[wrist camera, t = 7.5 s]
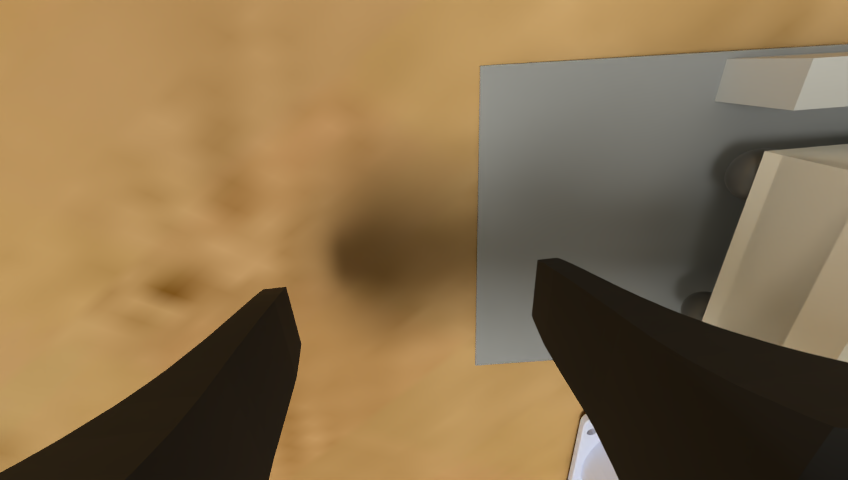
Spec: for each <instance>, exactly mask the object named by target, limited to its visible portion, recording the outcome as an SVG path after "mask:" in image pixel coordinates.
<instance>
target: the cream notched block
mask: <svg viewBox="0 0 848 480" xmlns="http://www.w3.org/2000/svg"><path fill="white" fill-rule="evenodd" d="M724 180H725V185H726V187H727V189H728V190H729V192H730V193H731V194H733V195H734V196H735V197H737V198H739V199H741V200H745V201H746V203H745V206H744V208H743V211H742V214H741V216H740V219H739V222H738V225H737V227H736V230H735V233H734V235H733V238H732V241H731V243H730V246H729V249H728V252H727V254H726V257H725V260H724V262H723V265H722V268H721V270H720V273H719V276H718V279H717V281H716V284H715V287H714V289H713V292H709V291H701V292H696V293H693V294H691V295H689V296H688V297H687V298H686V299H685V300H684V301H683V303H682V305H681V310H680V311H681V314H684V315H686V316H689V317H692V318H695V319H697V320H700V321H703V322H706V323H708V324H711V325H714V326H717V327H720V328H723V329H726V330H729V331H732V332H735V333H739V334H742V335H745V336H749V337H752V338H755V339H759V340H762V341H765V342H769V343H772V344H776V345H780V346H783V347H787V348H791V349H795V350H798V351H802V352H806V353H810V354H815V355H819V356H823V357H827V358H831V359H835V360H840V361H844V362H848V144H840V145H829V146H817V147H806V148H794V149H783V150H776V149H770V148H760V149H754V150H750V151H747V152H745V153H743V154H741V155H739V156H738V157H736V158H735V159H734V160H733V161H732V162H731V163H730V164H729V166H728V167H727V169H726V172H725V176H724Z"/></svg>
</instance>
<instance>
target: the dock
mask: <svg viewBox="0 0 848 480" xmlns="http://www.w3.org/2000/svg"><path fill="white" fill-rule="evenodd" d="M840 144H848V44H838V45H821V46H804V47H787V48H770V49H753V50H736V51H718V52H701V53H685V54H668V55H652V56H635V57H619V58H602V59H586V60H569V61H553V62H536V63H520V64H503V65H487V66H480V105H479V167H478V229H477V291H476V353H475V365H489V364H503V363H517V362H531V361H546V360H553V359H552V357H551V356H550V354H549V352H548V351H547V349H546V347H545V345H544V343H543V341H542V339H541V337H540V334H539V332H538V330H537V328H536V325H535V323H534V320H533V318H532V307H533V298H534V288H535V278H536V269H537V260H540V259H549V258H560V259H562V260H565V261H567V262H570V263H572V264H574V265H576V266H578V267H580V268H582V269H584V270H586V271H588V272H590V273H592V274H594V275H596V276H598V277H600V278H603V279H605V280H607V281H609V282H611V283H613V284H615V285H617V286H619V287H621V288H623V289H625V290H627V291H630V292H632V293H634V294H636V295H638V296H640V297H643V298H645V299H647V300H650V301H652V302H654V303H657V304H659V305H661V306H664V307H666V308H668V309H671V310H673V311H676V312H678V313H681V311H680V310H681V305H682V303H683V301H684V300H685V299H686V298H687V297H688V296H689V295H691V294H693V293H696V292H701V291H709V292H713V289H714V287H715V284H716V281H717V279H718V276H719V273H720V270H721V268H722V265H723V262H724V260H725V257H726V254H727V252H728V249H729V246H730V243H731V241H732V238H733V235H734V233H735V230H736V227H737V225H738V222H739V219H740V216H741V214H742V211H743V208H744V206H745V203H746V201H745V200H741V199H739V198H737V197H735V196H734V195H733V194H731V193H730V192H729V190H728V189H727V187H726V185H725V180H724V176H725V172H726V169H727V167H728V166H729V164H730V163H731V162H732V161H733V160H734V159H735V158H736V157H738V156H739V155H741V154H743V153H745V152H747V151H750V150H754V149H760V148H770V149H776V150H783V149H794V148H806V147H817V146H829V145H840Z"/></svg>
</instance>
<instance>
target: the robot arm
mask: <svg viewBox="0 0 848 480" xmlns="http://www.w3.org/2000/svg"><path fill="white" fill-rule="evenodd" d="M532 318H533V320H534V323H535V325H536V328H537V330H538V332H539V334H540V337H541V339H542V341H543V343H544V345H545V347H546V349H547V351H548V352H549V354H550V356H551V357H552V359H553V361H554V362H555V364H556V366H557V367H558V369H559V371H560V372H561V374H562V375H563V377H564V379H565V380H566V382H567V384H568V385H569V387H570V388H571V390H572V392H573V393H574V395H575V397H576V398H577V400H578V401H579V403H580V405H581V406H582V408H583V410H584V411H585V413H586V414H585V415H584V416H583V417H582V418H581V420H580V425H579V429H578V434H577V439H576V444H575V448H574V453H573V458H572V462H571V467H570V472H569V476H568V480H848V362H844V361H840V360H835V359H831V358H827V357H823V356H819V355H815V354H810V353H806V352H802V351H798V350H795V349H791V348H787V347H783V346H780V345H776V344H772V343H769V342H765V341H762V340H759V339H755V338H752V337H749V336H745V335H742V334H739V333H735V332H732V331H729V330H726V329H723V328H720V327H717V326H714V325H711V324H708V323H706V322H703V321H700V320H697V319H695V318H692V317H689V316H686V315H684V314H681V313H678V312H676V311H673V310H671V309H668V308H666V307H664V306H661V305H659V304H657V303H654V302H652V301H650V300H647V299H645V298H643V297H640V296H638V295H636V294H634V293H632V292H630V291H627V290H625V289H623V288H621V287H619V286H617V285H615V284H613V283H611V282H609V281H607V280H605V279H603V278H600V277H598V276H596V275H594V274H592V273H590V272H588V271H586V270H584V269H582V268H580V267H578V266H576V265H574V264H572V263H570V262H567V261H565V260H562V259H560V258H549V259H540V260H537V269H536V278H535V288H534V298H533V307H532ZM300 349H301V341H300V338H299V334H298V330H297V326H296V323H295V319H294V315H293V311H292V308H291V304H290V300H289V296H288V293H287V289H286V287H282V288H273V289H263V290H262V291H261V292H259V293H258V294H257V295H256V296H254V297H253V298H252V299H251V300H250V301H249V302H247V303H246V304H245V305H244V306H243V307H242V308H241V309H240V310H238V311H237V312H236V313H235V314H234V315H233V316H232V317H230V318H229V319H228V320H227V321H226V322H225V323H223V324H222V325H221V326H220V327H219V328H218V329H217V330H215V331H214V332H213V333H212V334H211V335H210V336H208V337H207V338H206V339H205V340H203V341H202V342H201V343H200V344H198V345H197V346H196V347H195V348H193V349H192V350H191V351H190V352H188V353H187V354H186V355H185V356H183V357H182V358H181V359H180V360H178V361H177V362H176V363H175V364H173V365H172V366H171V367H170V368H168V369H167V370H166V371H164V372H163V373H162V374H160V375H159V376H157V377H156V378H155V379H153V380H152V381H150V382H149V383H148V384H146V385H145V386H143V387H142V388H140V389H139V390H137V391H136V392H134V393H133V394H132V395H130V396H129V397H127V398H126V399H124V400H123V401H121V402H120V403H118V404H117V405H115V406H114V407H112V408H110V409H109V410H107V411H105V412H104V413H102V414H101V415H99V416H97V417H96V418H94V419H92V420H91V421H89V422H88V423H86V424H84V425H83V426H81V427H79V428H78V429H76V430H75V431H73V432H71V433H70V434H68V435H66V436H65V437H63V438H61V439H60V440H58V441H56V442H55V443H53V444H51V445H49V446H48V447H46V448H44V449H42V450H41V451H39V452H37V453H35V454H33V455H32V456H30V457H28V458H26V459H25V460H23V461H21V462H19V463H17V464H16V465H14V466H12V467H10V468H8V469H6V470H4V471H3V472H1V473H0V480H269V476H270V472H271V468H272V464H273V460H274V456H275V452H276V449H277V445H278V442H279V438H280V435H281V431H282V428H283V424H284V421H285V417H286V414H287V410H288V407H289V403H290V399H291V396H292V392H293V389H294V385H295V381H296V377H297V371H298V364H299V357H300Z"/></svg>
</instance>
